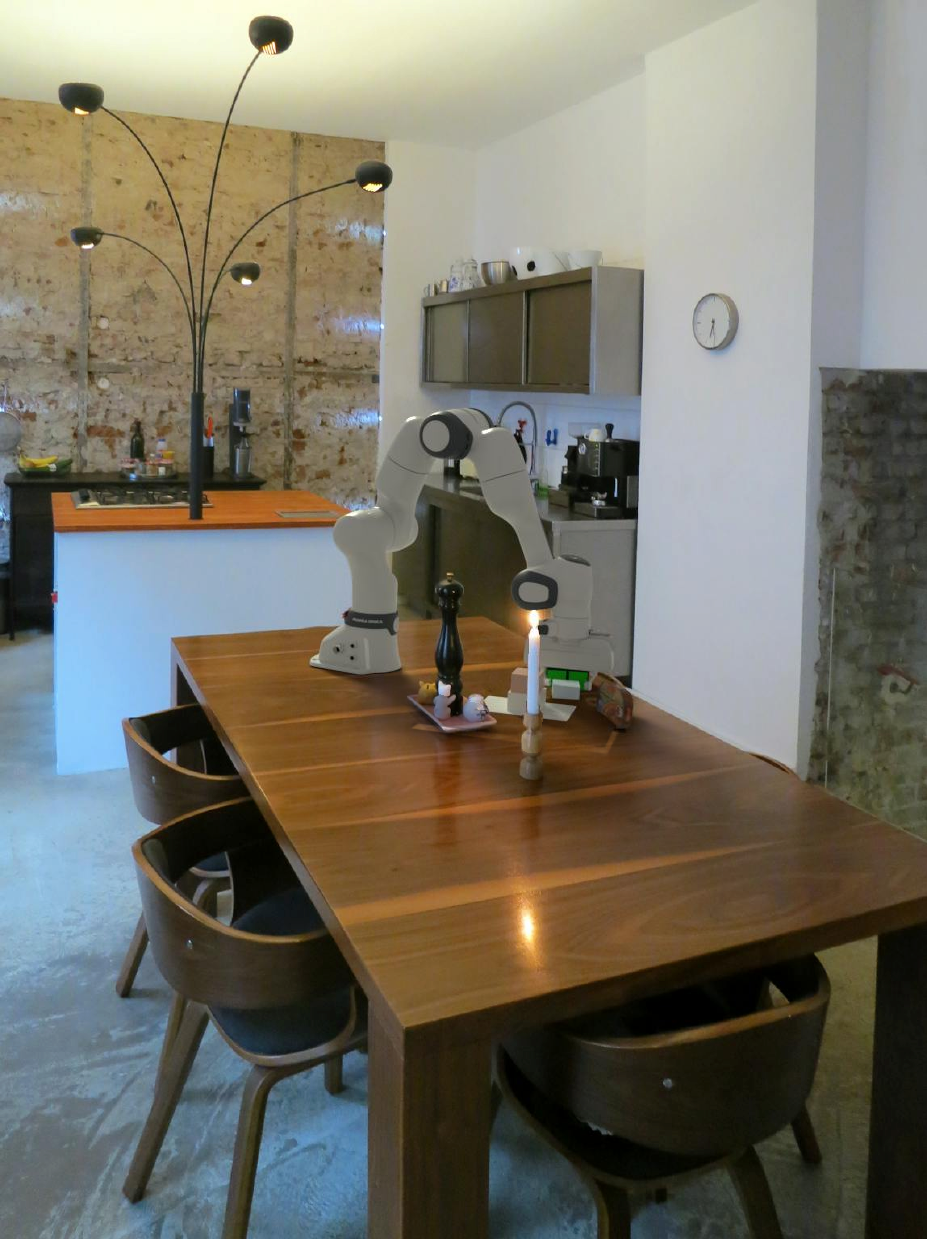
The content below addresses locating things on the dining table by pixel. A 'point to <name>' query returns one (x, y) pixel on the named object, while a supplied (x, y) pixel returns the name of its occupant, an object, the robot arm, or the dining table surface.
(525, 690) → the terracotta brick
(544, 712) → the board
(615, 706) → the tin
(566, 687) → the blue brick
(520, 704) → the base brick
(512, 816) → the dining table surface
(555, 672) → the puzzle cube
